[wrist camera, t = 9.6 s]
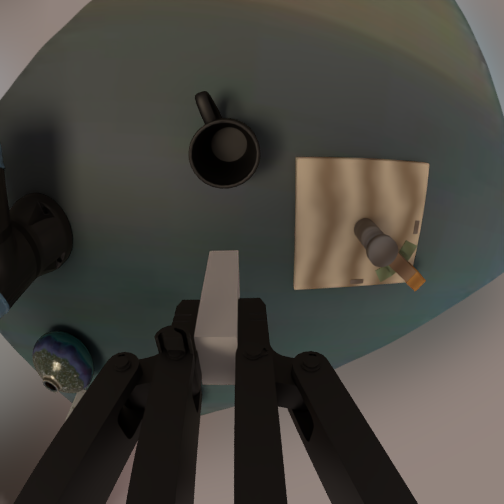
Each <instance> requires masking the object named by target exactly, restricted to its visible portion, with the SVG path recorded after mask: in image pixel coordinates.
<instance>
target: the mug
mask: <svg viewBox="0 0 504 504" xmlns="http://www.w3.org/2000/svg"><path fill="white" fill-rule="evenodd" d="M195 100H196V104H197V106H198V109H199V111H200V114H201V116H202V119H203V121H204V123H205V125H204V126H203V127H201V128H200V129H199V130H198V131H197V132H196V134H195V135H194V136H193V138H192V140H191V143H190V147H189V161H190V165H191V168H192V169H193V171H194V173H195V174H196V175H197V177H198V178H199V179H200V180H202V181H203V182H204V183H206V184H208V185H210V186H212V187H216V188H232V187H237V186H239V185H241V184H243V183H244V182H246V181H247V180H248V179H250V178H251V176H252V175H253V174H254V173H255V171H256V169H257V167H258V164H259V161H260V147H259V143H258V140H257V138H256V135H255V133H254V132H253V131H252V130H251V128H250V127H248V126H247V125H246V124H245V123H243V122H241V121H238V120H235V119H231V118H222V116H221V114H220V112H219V110H218V108H217V106H216V105H215V103H214V101H213V99H212V98H211V96H210V95H209V93H208V92H207V91H203V92H200V93H198V94H196V95H195Z"/></svg>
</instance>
